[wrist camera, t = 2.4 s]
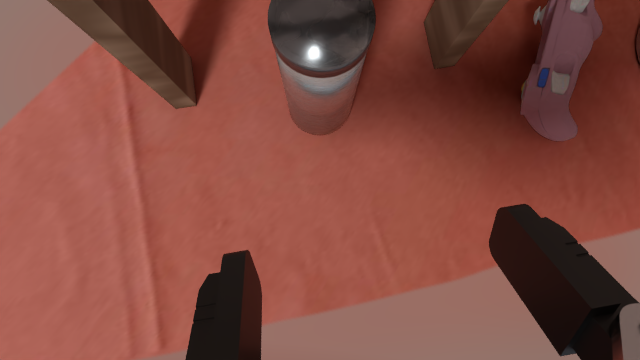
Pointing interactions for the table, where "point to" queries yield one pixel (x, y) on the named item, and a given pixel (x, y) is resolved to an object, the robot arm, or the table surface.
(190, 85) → the walnut shelf
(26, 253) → the table surface
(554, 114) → the video game controller
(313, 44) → the salt shaker
